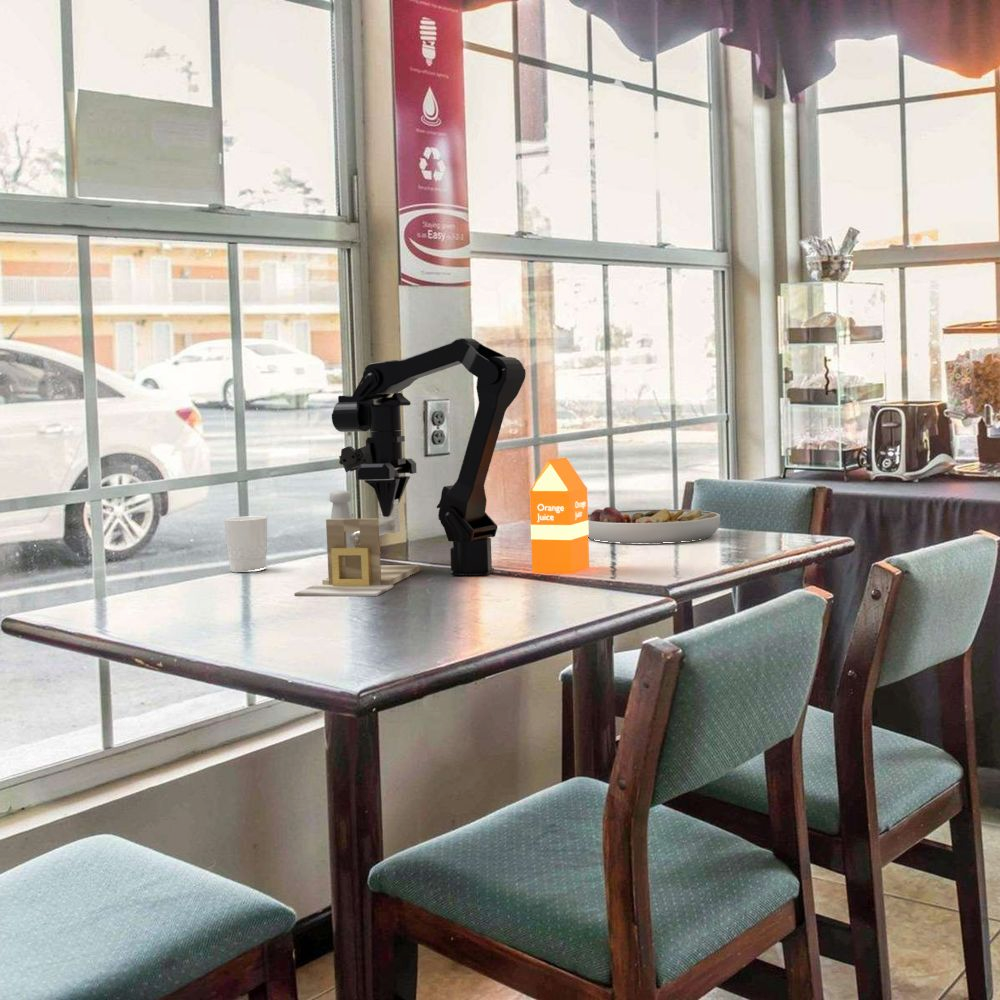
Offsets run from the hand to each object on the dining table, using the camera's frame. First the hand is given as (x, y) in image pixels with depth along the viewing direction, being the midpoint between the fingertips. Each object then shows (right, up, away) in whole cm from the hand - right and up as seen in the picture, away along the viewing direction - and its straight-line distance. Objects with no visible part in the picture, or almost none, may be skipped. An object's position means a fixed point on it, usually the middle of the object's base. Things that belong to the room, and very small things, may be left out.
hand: (389, 515), depth 238 cm
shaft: (-2, -4, -9) cm, 10 cm away
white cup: (-27, -11, +6) cm, 30 cm away
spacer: (-4, -12, -21) cm, 24 cm away
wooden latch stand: (-3, -11, -15) cm, 19 cm away
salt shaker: (-12, -8, +28) cm, 32 cm away
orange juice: (+31, -10, -7) cm, 34 cm away
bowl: (+53, -6, +40) cm, 66 cm away
